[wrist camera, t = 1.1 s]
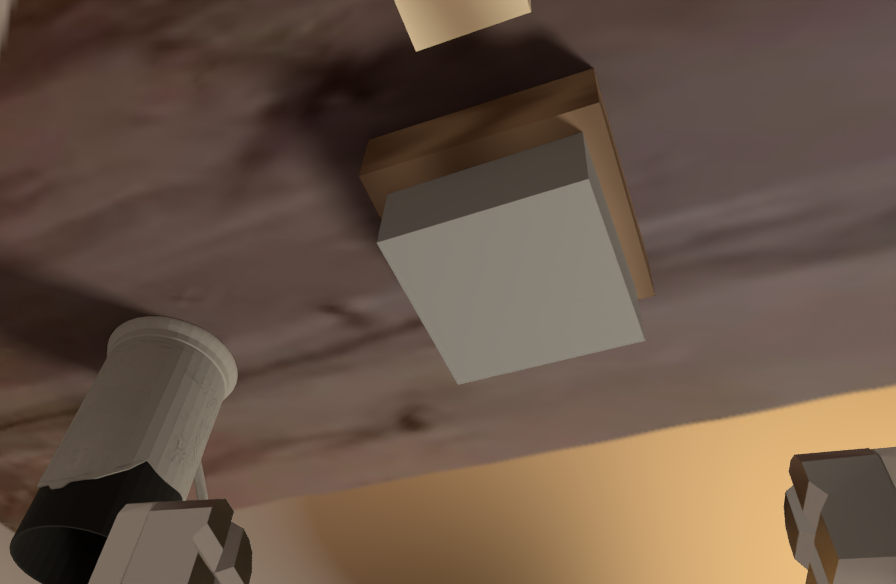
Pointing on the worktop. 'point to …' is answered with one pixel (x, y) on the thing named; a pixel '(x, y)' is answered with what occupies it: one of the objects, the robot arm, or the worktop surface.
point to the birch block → (454, 17)
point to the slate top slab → (513, 262)
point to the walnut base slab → (512, 150)
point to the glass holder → (126, 444)
